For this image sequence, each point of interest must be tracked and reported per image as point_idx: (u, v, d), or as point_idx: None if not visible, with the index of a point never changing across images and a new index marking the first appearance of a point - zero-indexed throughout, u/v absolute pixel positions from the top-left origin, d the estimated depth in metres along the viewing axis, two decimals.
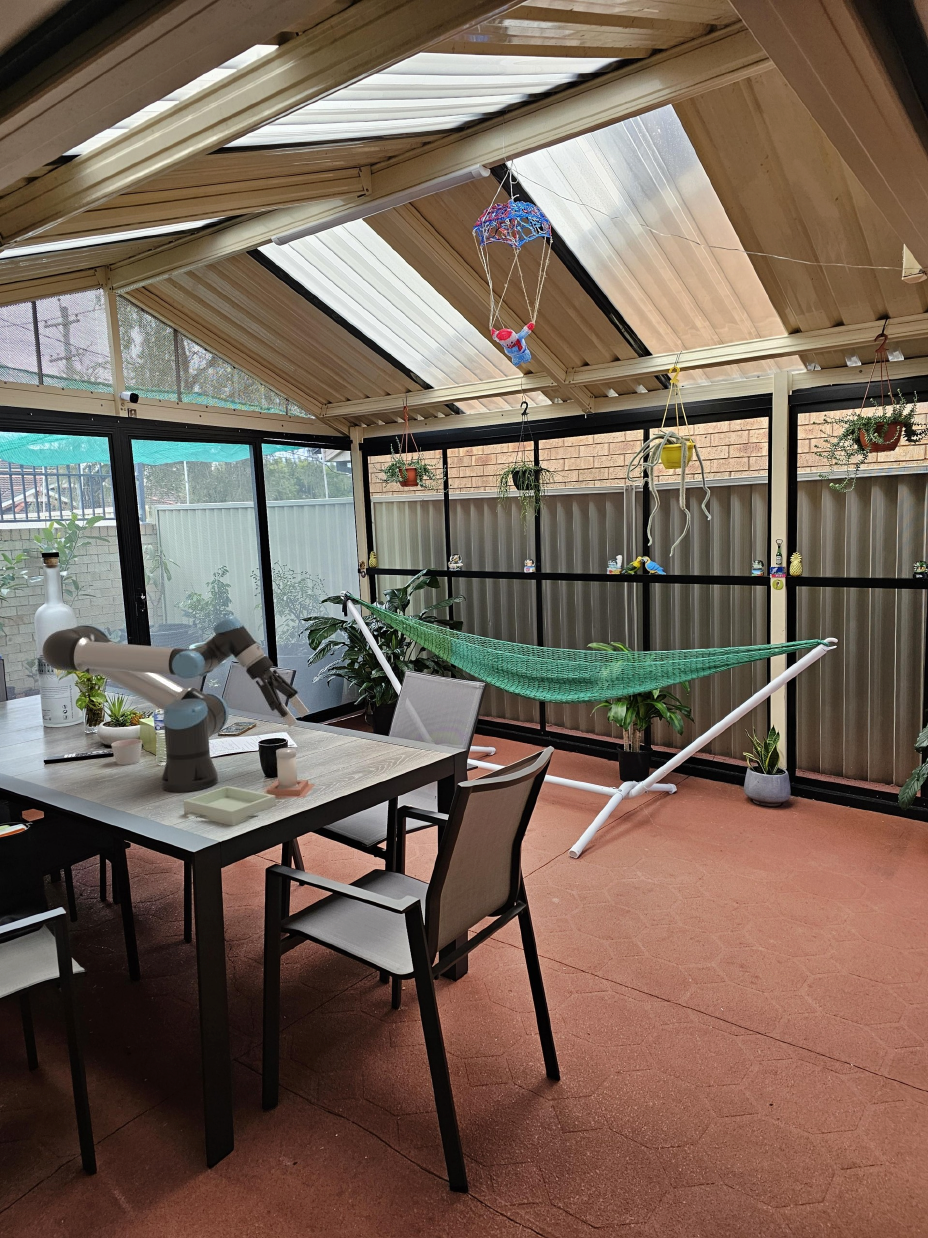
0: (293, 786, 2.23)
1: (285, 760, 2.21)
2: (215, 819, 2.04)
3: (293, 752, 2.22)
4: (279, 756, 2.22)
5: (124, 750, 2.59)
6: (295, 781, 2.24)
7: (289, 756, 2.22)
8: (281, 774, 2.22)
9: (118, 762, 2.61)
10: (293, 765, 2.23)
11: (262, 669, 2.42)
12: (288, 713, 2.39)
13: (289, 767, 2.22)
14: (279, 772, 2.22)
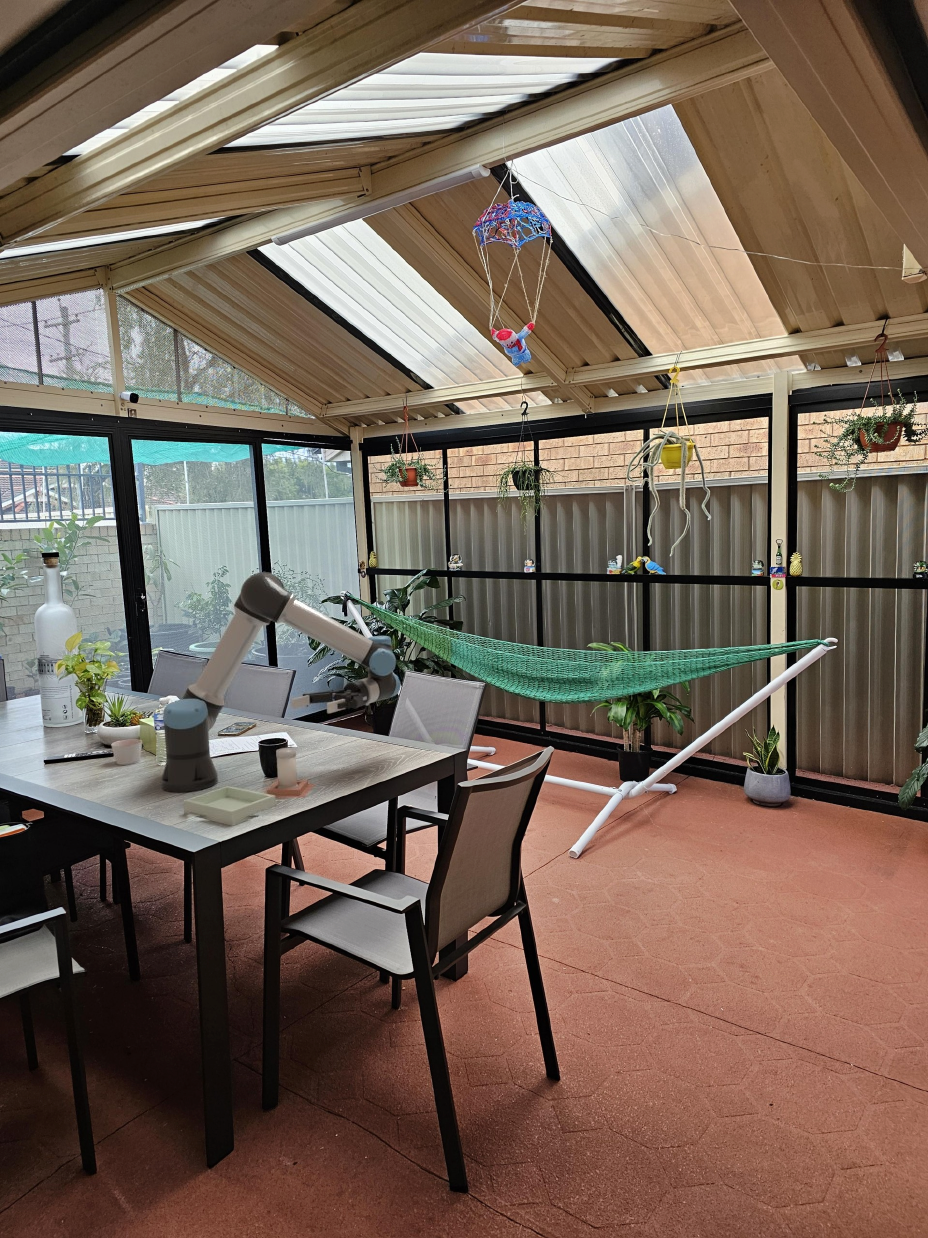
0: (293, 786, 2.23)
1: (285, 760, 2.21)
2: (215, 819, 2.04)
3: (293, 752, 2.22)
4: (279, 756, 2.22)
5: (124, 750, 2.59)
6: (295, 781, 2.24)
7: (289, 756, 2.22)
8: (281, 774, 2.22)
9: (118, 762, 2.61)
10: (293, 765, 2.23)
11: None
12: (337, 709, 2.30)
13: (289, 767, 2.22)
14: (279, 772, 2.22)
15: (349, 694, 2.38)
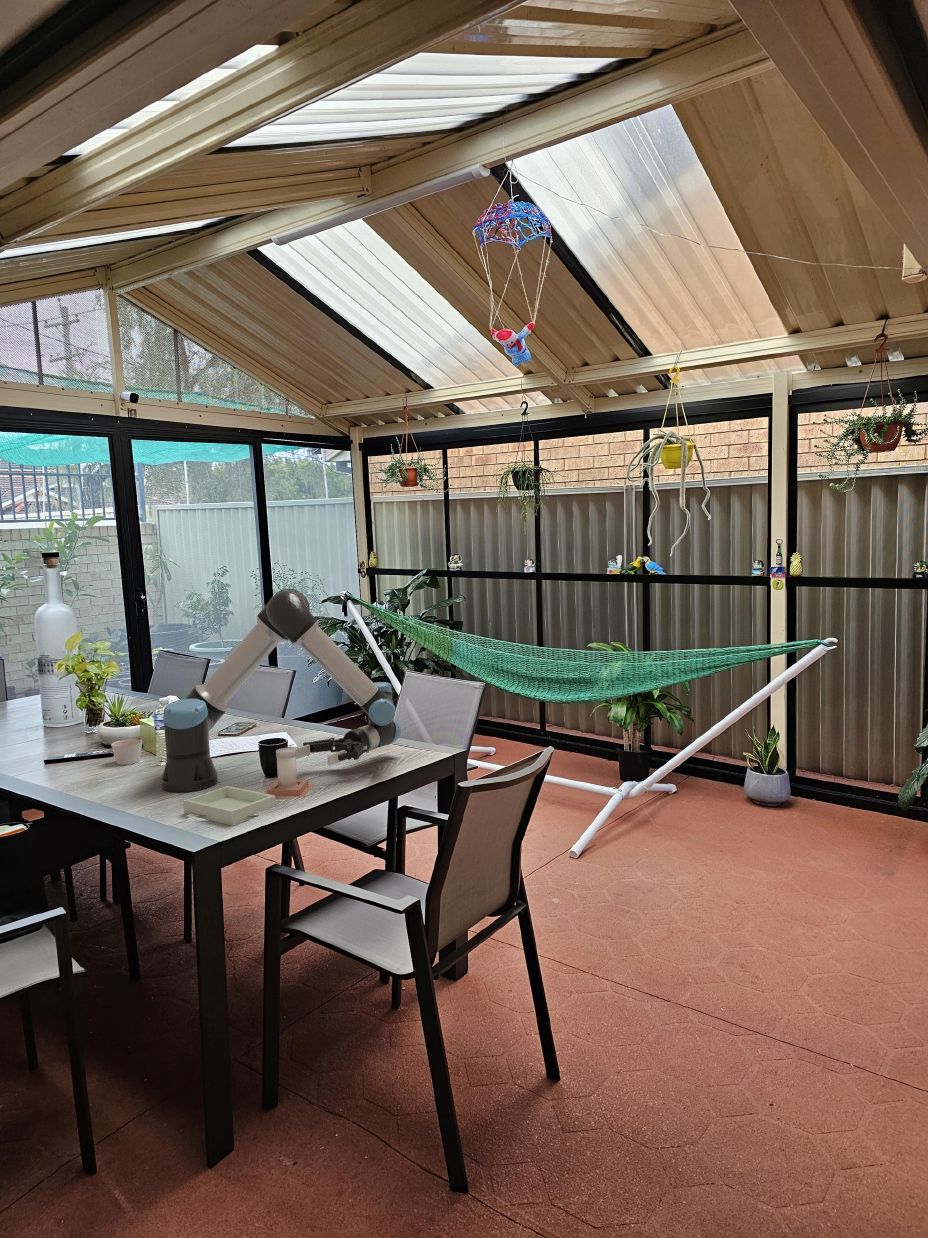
0: (293, 786, 2.23)
1: (285, 760, 2.21)
2: (215, 819, 2.04)
3: (293, 752, 2.22)
4: (279, 756, 2.22)
5: (124, 750, 2.59)
6: (295, 781, 2.24)
7: (289, 756, 2.22)
8: (281, 774, 2.22)
9: (118, 762, 2.61)
10: (292, 765, 2.22)
11: None
12: (338, 761, 2.30)
13: (288, 767, 2.22)
14: (279, 772, 2.22)
15: (349, 744, 2.39)
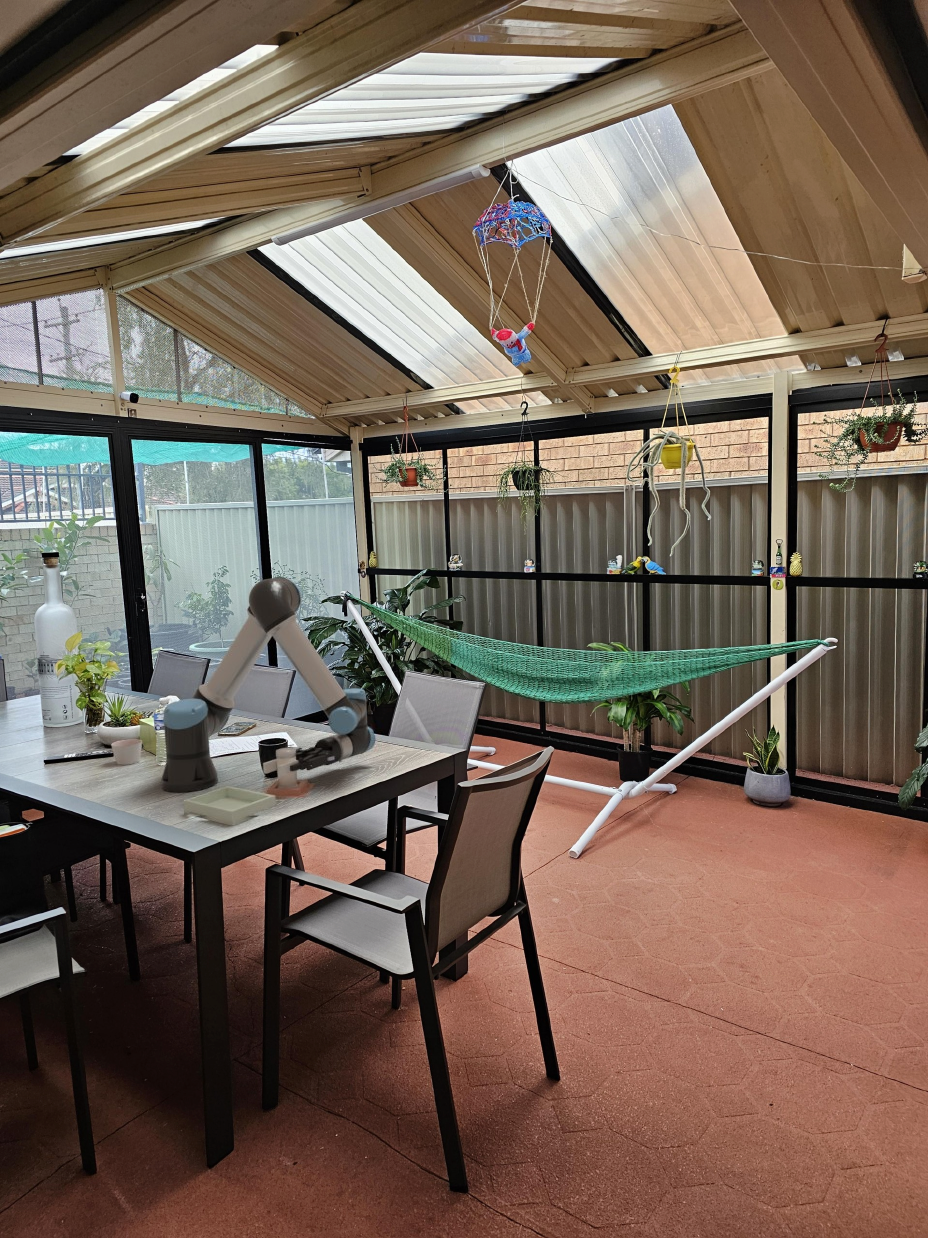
0: (293, 786, 2.23)
1: (285, 760, 2.21)
2: (215, 819, 2.04)
3: (293, 752, 2.22)
4: (279, 756, 2.21)
5: (124, 750, 2.59)
6: (295, 781, 2.24)
7: (289, 756, 2.22)
8: None
9: (118, 762, 2.61)
10: None
11: (334, 759, 2.35)
12: (290, 771, 2.21)
13: None
14: None
15: (314, 753, 2.29)
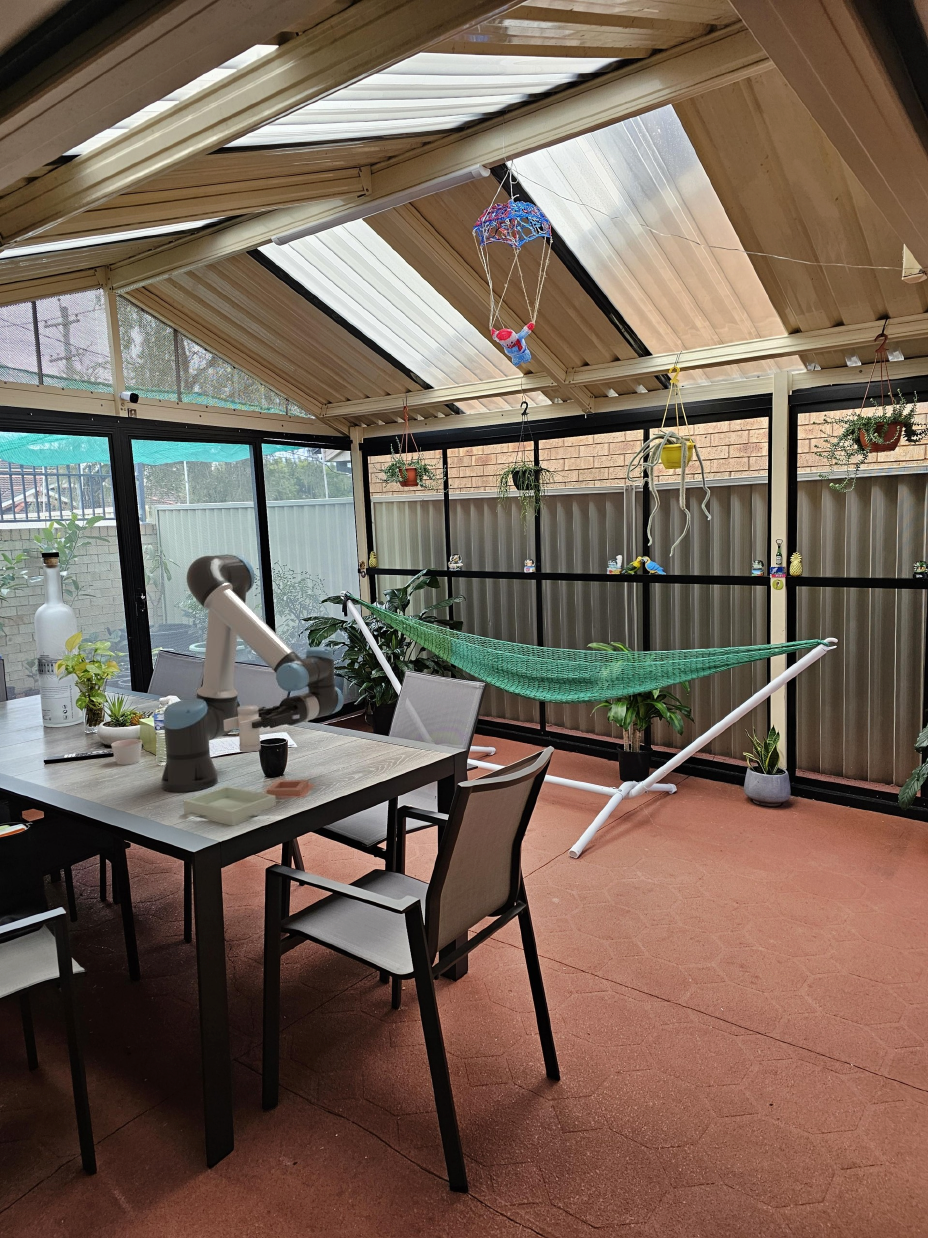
0: (255, 744, 2.12)
1: (246, 717, 2.10)
2: (215, 819, 2.04)
3: (255, 709, 2.11)
4: (240, 713, 2.10)
5: (124, 750, 2.59)
6: (257, 739, 2.12)
7: (251, 713, 2.10)
8: None
9: (118, 762, 2.61)
10: None
11: (299, 718, 2.24)
12: (252, 729, 2.10)
13: None
14: None
15: (278, 711, 2.18)
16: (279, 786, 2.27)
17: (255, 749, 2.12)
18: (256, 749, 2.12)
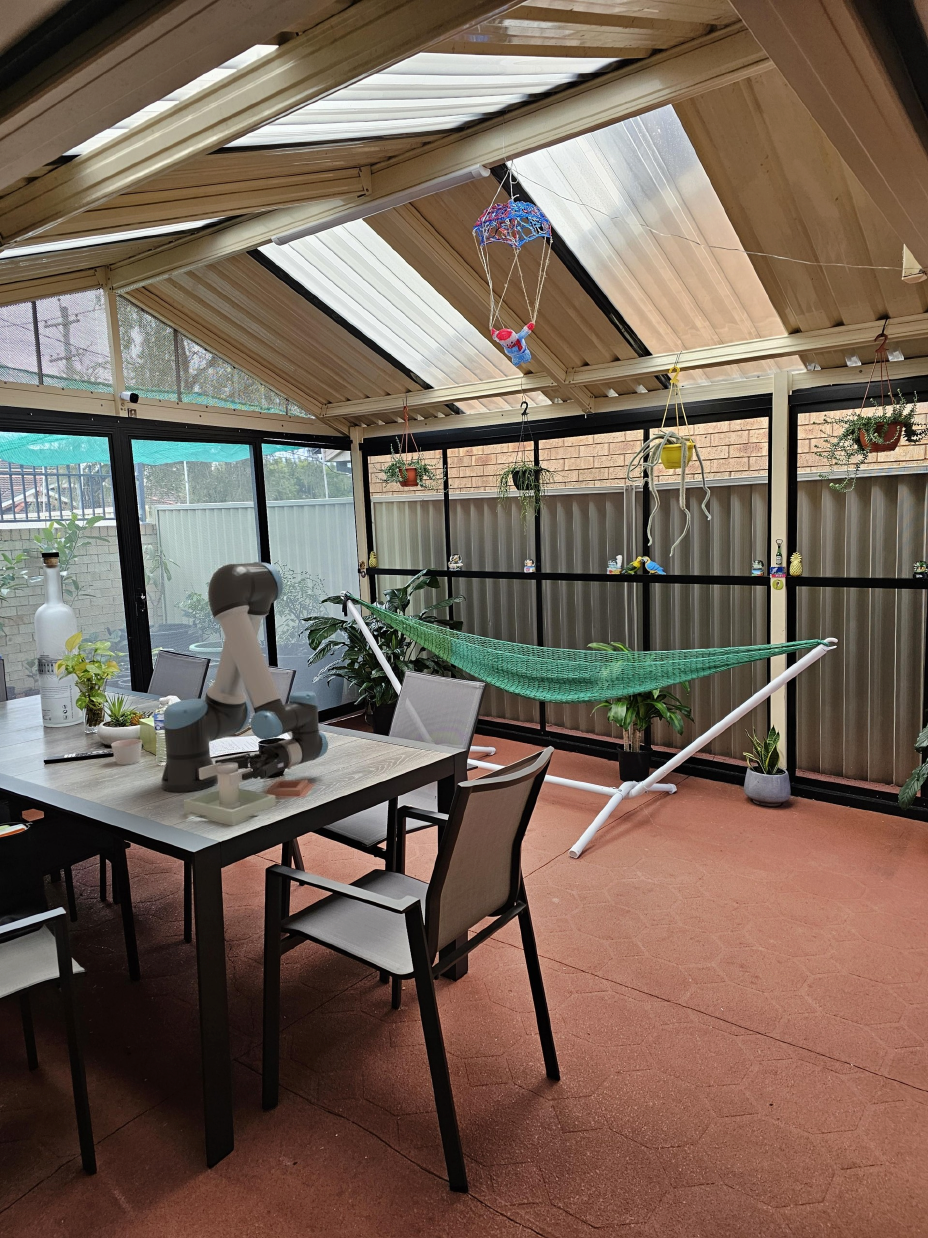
0: (235, 803, 2.10)
1: (225, 776, 2.08)
2: (215, 819, 2.04)
3: (234, 767, 2.09)
4: (219, 772, 2.08)
5: (124, 750, 2.59)
6: (237, 798, 2.10)
7: (230, 771, 2.08)
8: (222, 790, 2.09)
9: (118, 762, 2.61)
10: None
11: None
12: (242, 780, 2.07)
13: None
14: (220, 789, 2.09)
15: (262, 760, 2.16)
16: (279, 786, 2.27)
17: (235, 808, 2.10)
18: None
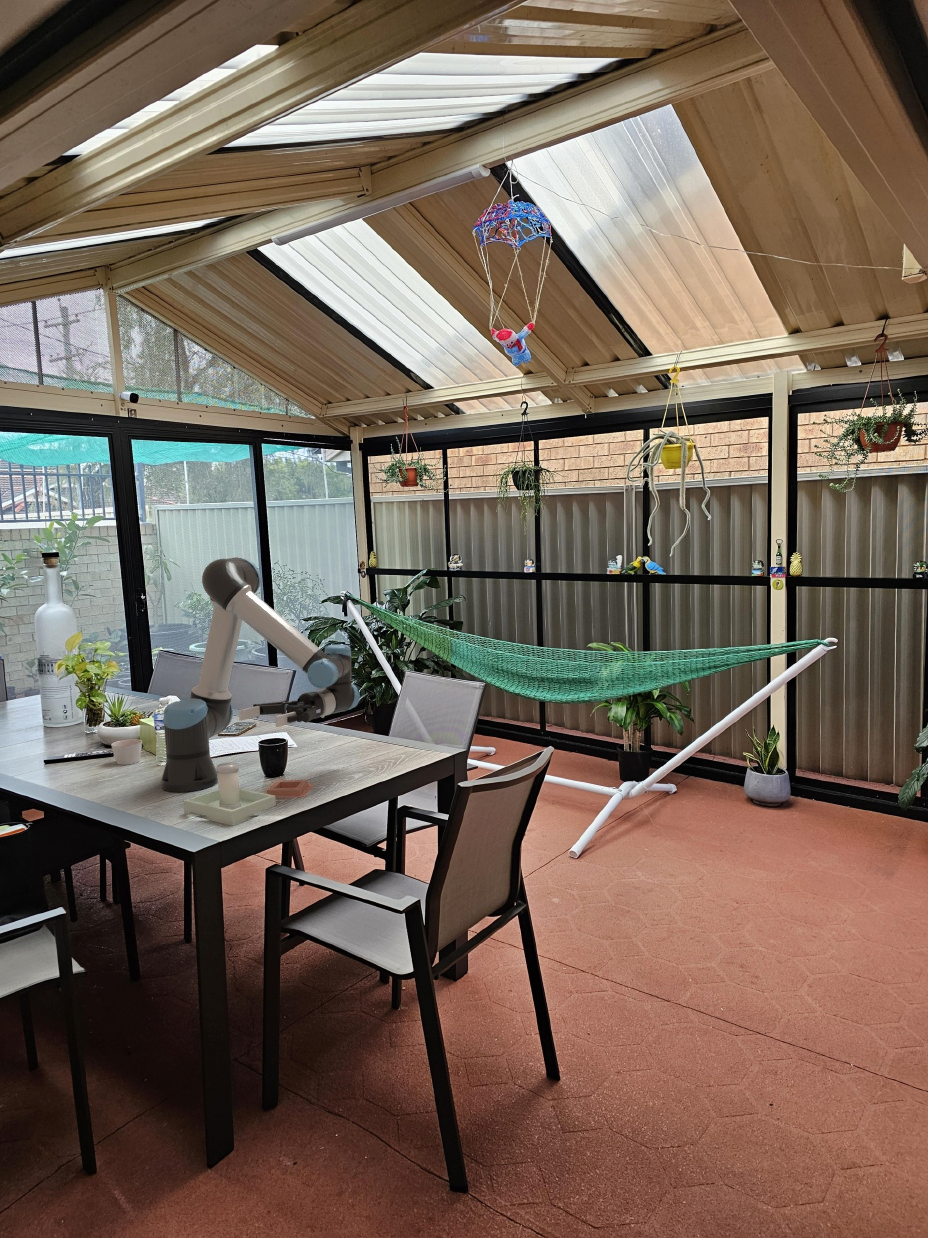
0: (235, 803, 2.10)
1: (226, 776, 2.08)
2: (215, 819, 2.04)
3: (235, 767, 2.09)
4: (220, 771, 2.08)
5: (124, 750, 2.59)
6: (237, 798, 2.10)
7: (230, 771, 2.08)
8: (222, 790, 2.09)
9: (118, 762, 2.61)
10: (234, 781, 2.09)
11: None
12: (287, 723, 2.16)
13: (230, 783, 2.09)
14: (220, 789, 2.09)
15: (302, 706, 2.25)
16: (279, 786, 2.27)
17: (235, 808, 2.10)
18: None
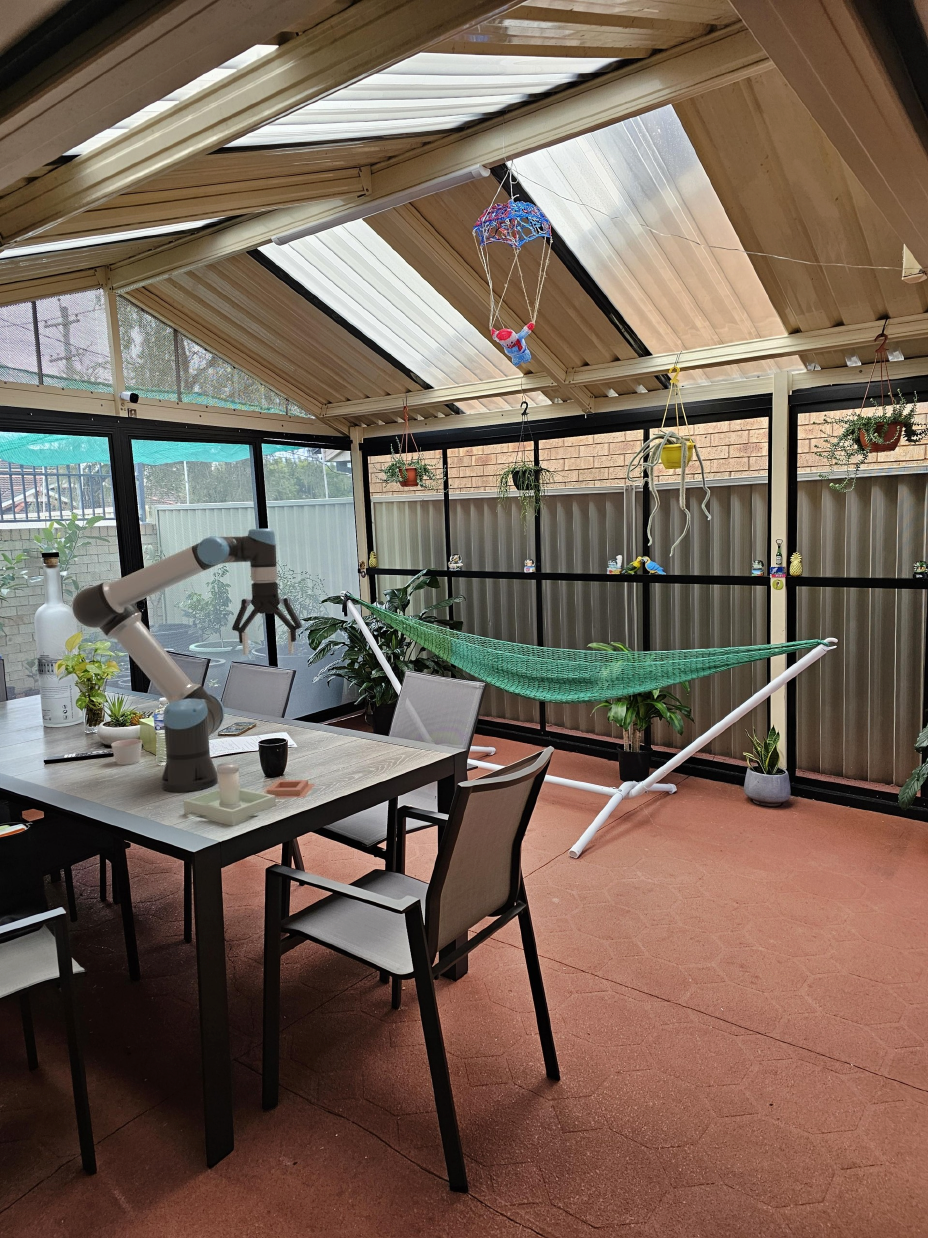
0: (235, 803, 2.10)
1: (226, 776, 2.08)
2: (215, 819, 2.04)
3: (235, 767, 2.09)
4: (220, 771, 2.08)
5: (124, 750, 2.59)
6: (237, 798, 2.10)
7: (230, 771, 2.08)
8: (222, 790, 2.09)
9: (118, 762, 2.61)
10: (234, 781, 2.09)
11: None
12: None
13: (230, 783, 2.09)
14: (220, 789, 2.09)
15: (277, 612, 2.44)
16: (279, 786, 2.27)
17: (235, 808, 2.10)
18: None
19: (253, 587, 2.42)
